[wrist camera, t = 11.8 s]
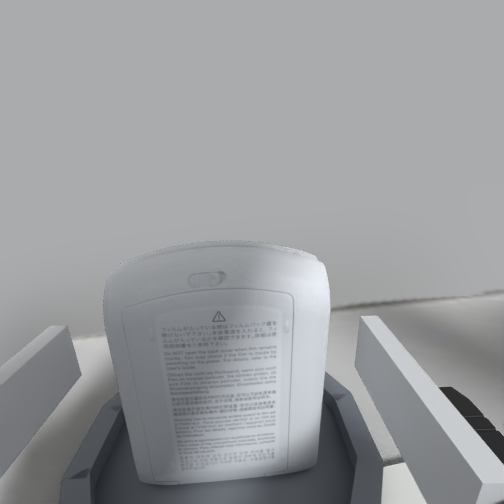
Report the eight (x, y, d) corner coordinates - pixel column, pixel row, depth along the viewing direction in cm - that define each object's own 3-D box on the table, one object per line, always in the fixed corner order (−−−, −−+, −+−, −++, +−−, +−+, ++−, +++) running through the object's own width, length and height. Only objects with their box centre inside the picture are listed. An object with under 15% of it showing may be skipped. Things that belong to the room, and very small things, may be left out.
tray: (323, 356, 24) (325, 337, 23) (466, 699, 9) (482, 672, 8) (141, 364, 23) (137, 345, 23) (-45, 739, 8) (-71, 713, 8)
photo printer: (307, 406, 18) (316, 227, 14) (330, 477, 14) (351, 253, 10) (151, 420, 17) (114, 236, 13) (127, 499, 13) (65, 269, 9)
